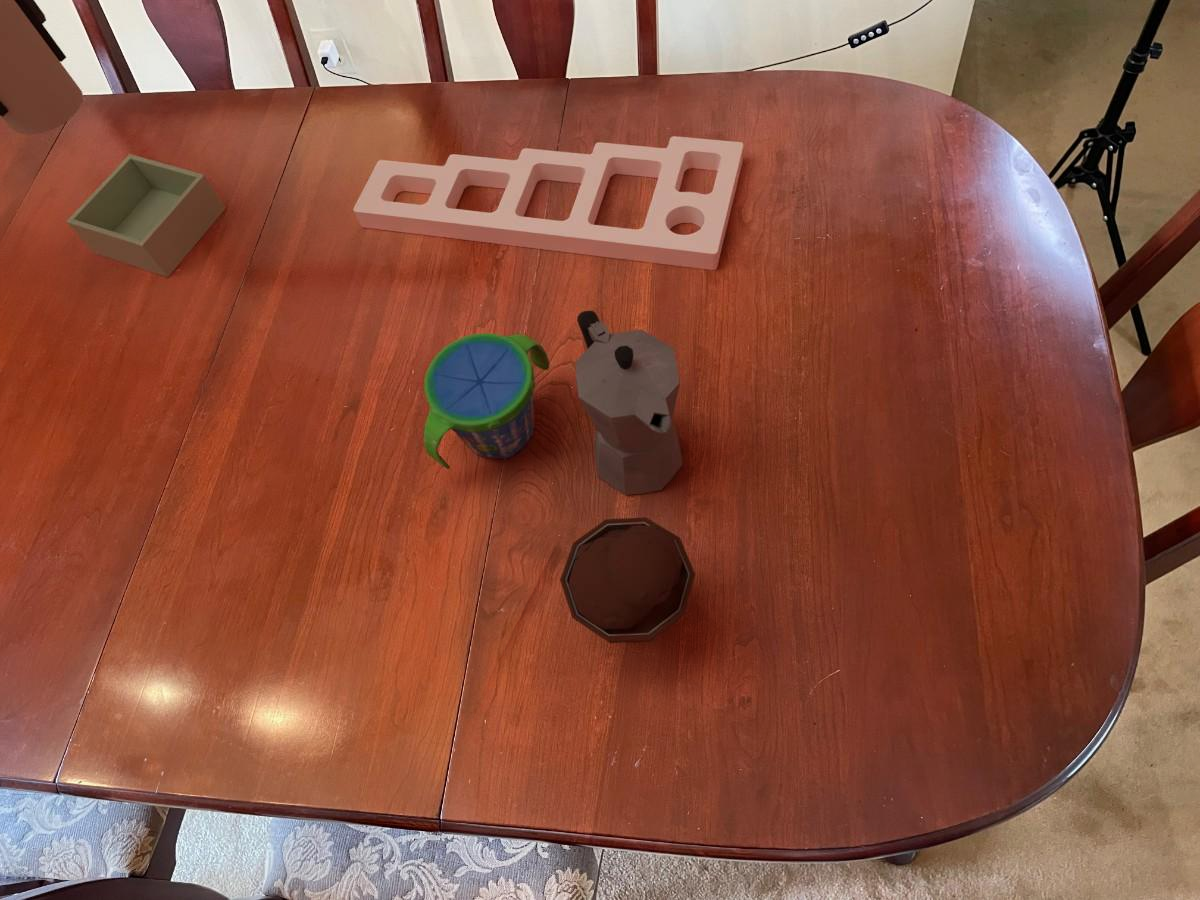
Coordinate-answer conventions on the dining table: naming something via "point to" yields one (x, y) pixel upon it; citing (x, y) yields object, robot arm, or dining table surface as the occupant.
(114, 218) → the bin
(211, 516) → the dining table surface
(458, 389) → the snack cup
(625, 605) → the plant pot with soil
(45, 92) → the travel mug
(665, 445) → the coffeepot
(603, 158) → the holder
